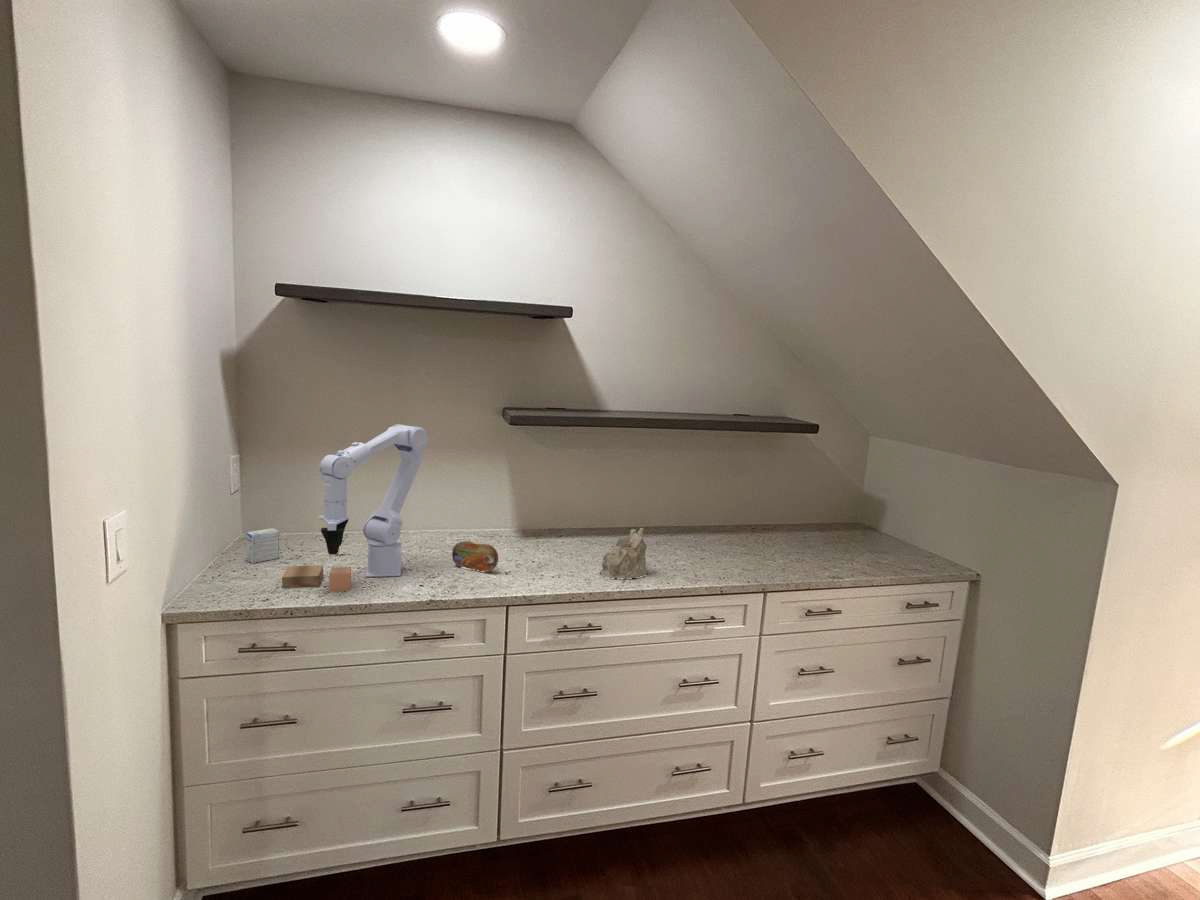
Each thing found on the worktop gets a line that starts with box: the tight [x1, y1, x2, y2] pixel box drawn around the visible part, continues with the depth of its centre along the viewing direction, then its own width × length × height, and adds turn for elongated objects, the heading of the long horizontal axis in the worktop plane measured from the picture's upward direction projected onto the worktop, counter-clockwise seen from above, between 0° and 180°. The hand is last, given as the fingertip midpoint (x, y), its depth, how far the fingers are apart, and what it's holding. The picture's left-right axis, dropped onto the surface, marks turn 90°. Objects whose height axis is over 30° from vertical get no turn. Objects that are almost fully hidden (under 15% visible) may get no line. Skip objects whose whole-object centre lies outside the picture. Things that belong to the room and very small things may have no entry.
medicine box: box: [245, 527, 281, 564], centre depth 188 cm, size 8×4×9 cm, turn 141°
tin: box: [451, 540, 499, 573], centre depth 191 cm, size 15×3×8 cm, turn 68°
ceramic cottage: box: [599, 527, 648, 578], centre depth 197 cm, size 16×16×15 cm
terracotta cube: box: [328, 566, 352, 592], centre depth 170 cm, size 5×5×5 cm
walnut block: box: [281, 564, 324, 589], centre depth 173 cm, size 9×9×3 cm
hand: (335, 549), depth 169 cm, fingers open, 7 cm apart
